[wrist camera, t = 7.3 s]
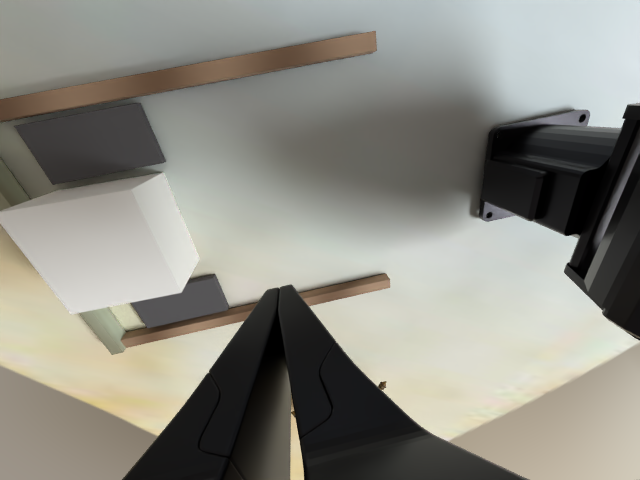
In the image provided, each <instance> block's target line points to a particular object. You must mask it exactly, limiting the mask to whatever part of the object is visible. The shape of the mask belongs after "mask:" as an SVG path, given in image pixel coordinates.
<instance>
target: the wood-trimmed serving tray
mask: <svg viewBox="0 0 640 480" xmlns="http://www.w3.org/2000/svg"><path fill="white" fill-rule="evenodd" d="M376 50H377V46H376V31H372V32H367V33H361V34H356V35H350V36H345V37H339V38H334V39H328V40H323V41H317V42H312V43H307V44H301V45H296V46H290V47H285V48H279V49H274V50H268V51H263V52H257V53H252V54H246V55H241V56H235V57H230V58H224V59H219V60H214V61H208V62H203V63H197V64H192V65H186V66H181V67H175V68H170V69H164V70H159V71H153V72H148V73H142V74H137V75H132V76H126V77H121V78H115V79H110V80H104V81H99V82H93V83H88V84H82V85H77V86H71V87H66V88H60V89H55V90H49V91H44V92H39V93H33V94H28V95H22V96H17V97H11V98H6V99H0V123H1V122H6V121H12V120H17V119H22V118H28V117H33V116H38V115H44V114H49V113H54V112H60V111H65V110H71V109H76V108H81V107H87V106H92V105H97V104H103V103H108V102H113V101H119V100H124V99H129V98H135V97H140V96H146V95H151V94H156V93H162V92H167V91H172V90H178V89H183V88H188V87H194V86H199V85H204V84H210V83H215V82H221V81H226V80H231V79H237V78H242V77H247V76H253V75H258V74H263V73H269V72H274V71H279V70H285V69H290V68H296V67H301V66H306V65H312V64H317V63H322V62H328V61H333V60H338V59H344V58H349V57H354V56H360V55H365V54H371V53H373V52H375V51H376ZM29 200H30V198H29V197H28V195H27V194H26V193H25V191H24V190H23V189H22V187H21V186H20V184H19V183H18V182H17V180H16V179H15V177H14V176H13V175H12V173H11V172H10V171H9V169H8V168H7V166H6V165H5V164H4V162H3V161H2V159H1V158H0V211H1V210H4V209H7V208H10V207H12V206H15V205H18V204H21V203H23V202H26V201H29ZM386 288H390V279H389V277H388V276H387V274H382V275H377V276H373V277H368V278H364V279H360V280H355V281H351V282H346V283H342V284H337V285H333V286H329V287H324V288H320V289H315V290H311V291H306V292H302V293H299V294H300V296H301V297H302V298H303V300H304V301H305V302H306V303H307V305H308V306H311V305H316V304H320V303H325V302H329V301H333V300H338V299H342V298H347V297H351V296H355V295H360V294H364V293H368V292H373V291H377V290H382V289H386ZM256 304H257V303H253V304H249V305H244V306H240V307H236V308H231V309H228V310H226V311H222V312H218V313H213V314H209V315H204V316H200V317H196V318H191V319H187V320H182V321H178V322H173V323H169V324H165V325H160V326H156V327H151V328H143V329H138V330H134V331H129V332H126V331H125V330H124V329H123V327H122V326H121V325H120V323H119V322H118V320H117V319H116V318H115V316H114V315H113V313H112V312H111V311H110V309H109V308H108V307H107V308H102V309H97V310H92V311H86V312H81V313H79V314H80V315H81V317H82V318H83V319H84V320H85V322H86V323H87V324H88V325H89V327H90V328H91V329H92V330H93V332H94V333H95V334H96V335H97V337H98V338H99V339H100V340H101V342H102V343H103V344H104V345H105V347H106V348H107V349H108V350H109V352H110V353H111V354H112V355H113V354H118V353H122V352H124V350H125V349H126V348H128V347H132V346H136V345H141V344H145V343H149V342H154V341H158V340H163V339H167V338H171V337H176V336H180V335H185V334H189V333H193V332H198V331H202V330H206V329H211V328H215V327H220V326H224V325H228V324H233V323H237V322H241V321H245V320H246V318H247V317H248V316H249V314H250V313H251V311H252V310H253V309H254V307H255V306H256Z"/></svg>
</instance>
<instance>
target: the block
mask: <svg viewBox="0 0 640 480" xmlns="http://www.w3.org/2000/svg"><path fill="white" fill-rule="evenodd" d="M0 224H1V225H2V226H3V228H4V229H5V230H6V232H7V233H8V234H9V235H10V237H11V238H12V239H13V241H14V242H15V243H16V244H17V246H18V247H19V248H20V250H21V251H22V252H23V253H24V255H25V256H26V257H27V259H28V260H29V261H30V262H31V264H32V265H33V266H34V268H35V269H36V270H37V272H38V273H39V274H40V275H41V277H42V278H43V279H44V281H45V282H46V283H47V284H48V286H49V287H50V288H51V290H52V291H53V292H54V293H55V295H56V296H57V297H58V299H59V300H60V301H61V302H62V304H63V305H64V306H65V308H66V309H67V310H68V312H69V313H70V314H76V313H81V312H86V311H92V310H97V309H102V308H107V307H112V306H117V305H122V304H127V303H132V302H137V301H142V300H147V299H152V298H157V297H162V296H167V295H172V294H177V293H182V291H183V289H184V287H185V285H186V283H187V281H188V280H189V278H190V276H191V274H192V272H193V270H194V268H195V266H196V265H197V263H198V261H199V259H200V258H199V256H198V253H197V251H196V248H195V246H194V244H193V241H192V239H191V236H190V234H189V232H188V229H187V227H186V224H185V222H184V220H183V217H182V215H181V212H180V210H179V208H178V205H177V203H176V200H175V198H174V196H173V193H172V191H171V189H170V186H169V184H168V181H167V179H166V177H165V174H164V172H161V173H155V174H150V175H144V176H138V177H132V178H126V179H120V180H114V181H108V182H103V183H97V184H91V185H85V186H79V187H73V188H67V189H62V190H57V191H54V192H51V193H48V194H46V195H43V196H40V197H37V198H34V199H32V200H29V201H26V202H23V203H21V204H18V205H15V206H12V207H10V208H7V209H4V210H1V211H0Z"/></svg>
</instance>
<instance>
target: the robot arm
mask: <svg viewBox="0 0 640 480" xmlns="http://www.w3.org/2000/svg"><path fill="white" fill-rule="evenodd" d="M579 117H580V118H579ZM589 117H590V112H589V111H588V110H575V111H570V112H565V113H560V114H555V115H550V116H545V117H540V118H535V119H530V120H526V121H521V122H516V123H511V124H506V125H501V126H497V127H494V128H493V129H492V130H491V132H490V134H489V139H488V147H487V155H486V163H485V171H484V179H483V187H482V195H481V204H480V212H479V217H480V219H482V220H484V221H493V220H497V219H502V218H506V217H511V216H515V215H516V216H519V217H521V218H523V219H525V220H528V221H533V222H536V223H538V224H540V225H542V226H545V227H547V228H549V229H551V230H554V231H556V232H558V233H560V234H563V235H565V236H570V235H571V236H574V237H576V238H578V242H577V245H576V247H575V250H574V252H573V255H572V257H571V260H570V262H569V263H567V265H566V267H565V270H564V273H565V274H566V275H567V276H568V277H569V278H570V279H571V280H572V281H573V282H574V283H575V284H576V285H577V286H578V287H579V288H580V289H581V290H582V291H583V292H584V293H585V294H586V295H588V296H589V297H590V298H591V299H592V300H593V301H594V302H595V303H596V304H597V305H598V306H599V307H600V308H601V309H602V310H603V311H602V313H603V315H604V316H605V317H606V318H607V319H608V320H609V321H611V322H612V323H614V324H615V325H617V326H618V327H620V328H621V329H623V330H624V331H626V332H627V333H629V334H630V335H632V336H633V337H634V338H636V339H638V340H640V103H636V104H629V105H627V108H626V110H625V113H624V115H623V119H625V120H624V123H623V126H622V128H609V127H591V126H587V124H588V121H589ZM499 132H500V135H499V137H498V138H497V134H498V133H499ZM487 213H489V214H488V215H487ZM486 215H487V216H486ZM291 393H292V399H293V405H294V411H295V417H296V423H297V429H298V434H299V440H300V446H301V452H302V459H303V468H304V480H529V479H526V478H524V477H522V476H520V475H518V474H516V473H514V472H511V471H509V470H507V469H505V468H503V467H501V466H499V465H496V464H494V463H492V462H490V461H488V460H486V459H484V458H482V457H480V456H477V455H475V454H473V453H471V452H469V451H467V450H465V449H463V448H461V447H458V446H456V445H454V444H452V443H450V442H448V441H446V440H444V439H441V438H439V437H437V436H435V435H433V434H432V433H430V432H428V431H427V430H425V429H424V428H423V427H421V426H420V425H419V424H417V423H416V422H415V421H414V420H412V419H411V418H410V417H409V416H408V415H407V414H406V413H405V412H404V411H403V410H402V409H400V408H399V407H398V406H397V405H396V404H395V403H394V402H393V401H392V400H391V399H390V398H389V397H388V396H387V395H386V394H385V393H384V392H383V391H382V390H381V389H380V388H378V387H377V386H376V385H375V384H374V383H373V382H372V381H371V380H370V379H369V378H368V377H367V376H366V375H365V374H364V373H363V372H362V371H361V370H360V369H359V368H358V367H357V366H356V365H355V364H354V363H353V361H352V360H351V359H350V358H349V357H348V355H347V354H346V353H345V352H344V351H343V349H342V348H341V347H340V346H339V344H338V343H336V341H335V339H334V338H333V337H332V336H331V334H330V333H329V332H328V330H327V329H326V328H325V327H324V325H323V324H322V323H321V321H320V320H319V319H318V318H317V316H316V315H315V314H314V312H313V311H312V310H311V309H310V307H309V306H308V305H307V303H306V302H305V301H304V300H303V298H302V297H301V296H300V294H299V293H298V292H297V291H296V289H295V288H294V287H293V285H286V286H282V287H280V289H279V288H273V289H268V290H267V291H266V292H265V293H264V295H263V296H262V297H261V299H260V300H259V302H258V303H257V304H256V306H255V307H254V309H253V310H252V311H251V313H250V314H249V316H248V317H247V318H246V320H245V321H244V323H243V324H242V325H241V327H240V328H239V330H238V331H237V332H236V334H235V335H234V337H233V338H232V339H231V341H230V342H229V344H228V345H227V346H226V348H225V349H224V351H223V352H222V354H221V355H220V356H219V358H218V359H217V361H216V362H215V363H214V365H213V366H212V368H211V369H210V370H209V373H207V374H206V376H205V377H204V379H203V380H202V381H201V383H200V384H199V386H198V387H197V388H196V390H195V391H194V392H193V394H192V395H191V396H190V398H189V399H188V400H187V402H186V403H185V404H184V406H183V407H182V408H181V409H180V411H179V412H178V413H177V414H176V415H175V417H174V418H173V419H172V420H171V422H170V423H169V424H168V425H167V427H166V428H165V429H164V430H163V431H162V433H161V434H160V435H159V436H158V437H157V439H156V440H155V441H154V442H153V444H152V445H151V446H150V447H149V448H148V449H147V451H146V452H145V453H144V454H143V456H142V457H141V458H140V459H139V460H138V461H137V462H136V464H135V465H134V466H133V467H132V468H131V470H130V471H129V472H128V473H127V475H126V476H125V477H124V478H123V479H122V480H290V437H291Z"/></svg>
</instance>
